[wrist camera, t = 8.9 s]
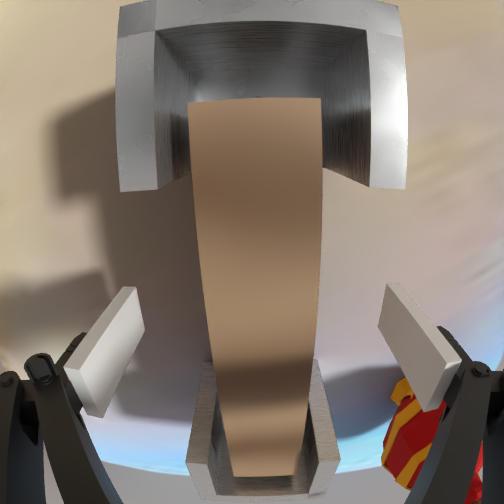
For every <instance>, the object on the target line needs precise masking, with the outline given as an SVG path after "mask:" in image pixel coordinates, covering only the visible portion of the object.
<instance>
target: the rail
mask: <svg viewBox="0 0 504 504" xmlns="http://www.w3.org/2000/svg"><path fill="white" fill-rule="evenodd" d="M188 122H189V140H190V157H191V171H192V185H193V197H194V209H195V220H196V231H197V241H198V250H199V260H200V269H201V277H202V286H203V294H204V302H205V310H206V317H207V325H208V332H209V339H210V346H211V352H212V359H213V365H214V372H215V378H216V384H217V390H218V396H219V402H220V408H221V413H222V419H223V424H224V429H225V435H226V440H227V445H228V450H229V455H230V460H231V465H232V470H233V474H234V477H261V476H285V475H297V473H298V467H299V461H300V455H301V449H302V443H303V436H304V429H305V422H306V415H307V408H308V400H309V392H310V383H311V375H312V365H313V356H314V345H315V334H316V322H317V309H318V295H319V278H320V259H321V233H322V119H321V98H244V99H227V100H214V101H203V102H193V103H188Z"/></svg>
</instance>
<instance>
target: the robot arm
mask: <svg viewBox="0 0 504 504" xmlns="http://www.w3.org/2000/svg"><path fill="white" fill-rule="evenodd" d="M378 328H379V330H380V331H381V333H382V335H383V337H384V338H385V340H386V342H387V344H388V345H389V347H390V349H391V351H392V353H393V354H394V356H395V358H396V360H397V362H398V364H399V365H400V367H401V369H402V371H403V373H404V375H405V377H406V379H407V380H408V382H409V384H410V386H411V388H412V390H413V392H414V394H415V396H416V398H417V400H418V402H419V404H420V406H421V408H422V410H423V412H427V411H431V410H434V409H438V408H439V406H440V404H441V402H442V400H443V399H444V401H445V402H446V404H447V406H446V407H445V409H444V411H443V413H442V414H441V416H440V418H439V419H438V422H440V423H439V426H438V429H437V432H436V434H435V437H434V440H433V442H432V445H431V447H430V450H429V452H428V455H427V457H426V459H425V462H424V464H423V466H422V469H421V471H420V473H419V475H418V477H417V479H416V482H415V484H414V486H413V488H412V490H411V492H410V494H409V496H408V498H407V499H406V501H405V503H404V504H464V503H465V500H466V497H467V494H468V491H469V488H470V485H471V482H472V478H473V475H474V472H475V468H476V464H477V461H478V457H479V453H480V448H481V444H482V442H483V482H482V498H481V504H504V369H503V371H491V369H490V368H489V367H488V366H487V365H486V364H484V363H482V362H478V361H472V360H471V359H470V357H469V356H468V355H467V353H466V352H465V351H464V350H463V348H462V347H461V346H460V345H458V342H457V341H456V340H455V339H454V337H453V336H452V335H451V334H450V332H449V331H447V330H446V329H444V328H443V327H441V326H437V327H436V326H435V325H434V323H433V322H432V321H431V320H430V319H429V317H428V316H427V315H426V314H425V312H424V311H423V310H422V309H421V308H420V307H419V305H418V304H417V303H416V302H415V301H414V299H413V298H412V297H411V296H410V295H409V294H408V292H407V291H406V290H405V289H404V288H403V287H402V286H401V284H400V283H387V284H386V289H385V295H384V300H383V305H382V310H381V314H380V319H379V324H378ZM144 332H145V327H144V322H143V318H142V313H141V309H140V304H139V299H138V294H137V289H136V287H122V289H121V290H120V291H119V293H118V294H117V295H116V296H115V298H114V299H113V300H112V301H111V303H110V304H109V305H108V307H107V308H106V309H105V310H104V312H103V313H102V314H101V316H100V317H99V318H98V320H97V321H96V322H95V324H94V325H93V326H92V328H91V329H90V330H89V332H88V333H85V332H83V333H81V334H80V335H78V336H77V337H75V338H74V340H73V341H72V342H71V344H70V346H68V348H67V349H66V350H65V352H64V353H63V354H62V356H61V357H60V358H59V360H58V361H57V363H56V364H54V362H53V360H52V358H51V356H50V355H48V354H46V353H39V354H35V355H33V356H31V357H30V358H29V359H27V361H26V362H25V364H24V369H25V371H26V373H27V375H28V377H29V378H30V380H21V379H20V377H19V376H18V374H17V373H16V372H14V371H7V372H4V373H2V374H1V375H0V504H46V498H45V486H44V462H43V440H44V443H45V447H46V451H47V454H48V458H49V461H50V464H51V468H52V471H53V474H54V477H55V480H56V482H57V486H58V488H59V491H60V494H61V496H62V499H63V501H64V504H123V502H122V501H121V499H120V497H119V495H118V494H117V492H116V490H115V488H114V486H113V484H112V482H111V480H110V478H109V477H108V475H107V473H106V471H105V469H104V467H103V465H102V462H101V460H100V458H99V456H98V454H97V452H96V450H95V447H94V445H93V443H92V440H91V438H90V436H89V433H88V431H87V428H86V426H85V423H84V421H83V418H82V416H81V414H80V413H79V412H80V410H81V408H82V406H83V407H84V409H85V411H86V413H87V415H90V416H95V417H99V418H103V417H104V414H105V412H106V410H107V408H108V406H109V403H110V401H111V399H112V397H113V395H114V393H115V391H116V389H117V386H118V384H119V382H120V380H121V378H122V376H123V374H124V372H125V370H126V368H127V366H128V364H129V362H130V360H131V357H132V355H133V353H134V351H135V349H136V347H137V345H138V343H139V342H140V340H141V338H142V336H143V334H144Z"/></svg>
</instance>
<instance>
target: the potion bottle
mask: <svg viewBox="0 0 504 504" xmlns="http://www.w3.org/2000/svg"><path fill="white" fill-rule="evenodd" d="M390 399H391V400H393V401H394V402H395V403H396V404H397V405H398V406H399V407H398V409H397V411H396V413H395V415H394V417H393V419H392V421H391V423H390V425H389V428H388V430H387V433H386V436H385V438H384V441H383V449H384V451H383V454H382V456H381V461H382V466H383V467H384V468H385V469H387V470H388V471H389V472H390V473H391V474H393V476H394V477H395V481H396V482H398V483H399V484H400V485H402V486H403V487H404V488H406V489H408V490H410V491H411V490H412V488H413V486H414V484H415V482H416V479H417V477H418V475H419V473H420V471H421V469H422V466H423V464H424V462H425V459H426V457H427V455H428V452H429V450H430V447H431V445H432V442H433V440H434V437H435V434H436V432H437V429H438V426H439V423H440V422H438V419H439V418H440V416H441V414H442V413H443V411H444V409H445V407H446V406H447V404H446V402H445V401H444V399H443V400H442V402H441V404H440V406H439V408H438V409H434V410H431V411H427V412H423V410H422V408H421V406H420V404H419V402H418V400H417V398H416V396H415V394H414V392H413V390H412V388H411V386H410V384H409V382H408V380H407V379H406V377H404V378H403V379H402V380H400V381H399V382H397V384H396V386H395V388H394V391H393V393H392V395H391V397H390ZM482 466H483V442H482V444H481V448H480V453H479V457H478V461H477V464H476V468H475V472H474V475H473V478H472V482H471V485H470V488H469V491H468V494H467V497H466V500H465V503H464V504H481V498H482V482H481V480H480V477H479V475H478V472H479V471H480V469H481V467H482Z"/></svg>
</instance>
